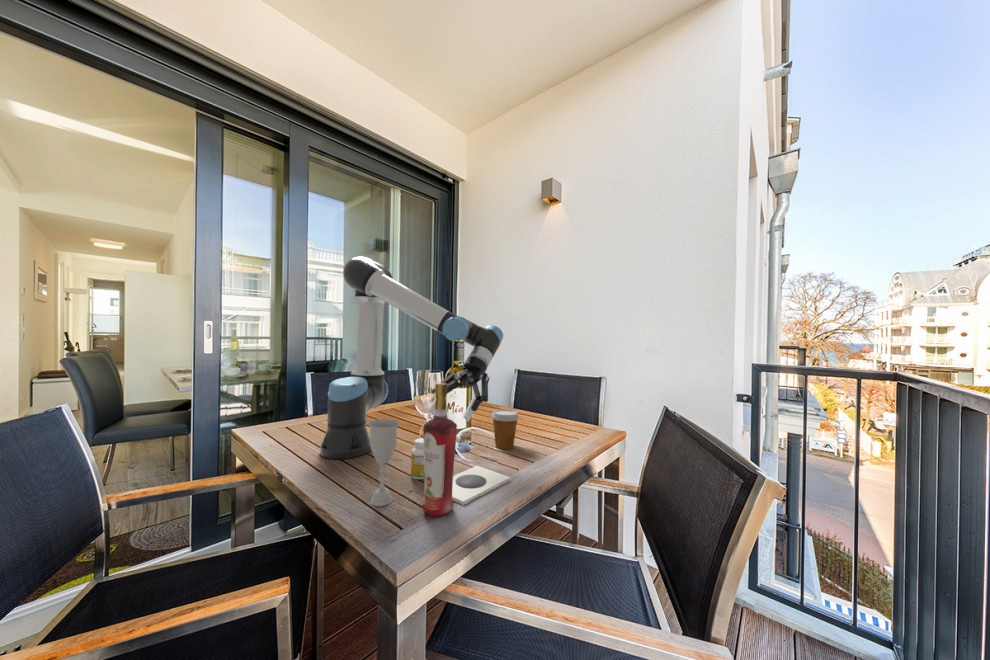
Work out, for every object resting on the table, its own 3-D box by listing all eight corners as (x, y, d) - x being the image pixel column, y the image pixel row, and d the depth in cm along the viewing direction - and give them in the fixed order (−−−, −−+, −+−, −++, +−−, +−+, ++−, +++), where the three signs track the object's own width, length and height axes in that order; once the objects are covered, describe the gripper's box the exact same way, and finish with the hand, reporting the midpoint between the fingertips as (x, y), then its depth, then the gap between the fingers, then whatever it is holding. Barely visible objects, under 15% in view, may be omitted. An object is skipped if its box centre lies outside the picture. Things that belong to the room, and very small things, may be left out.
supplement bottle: (415, 471, 97) (416, 436, 97) (433, 472, 96) (434, 438, 96) (407, 478, 91) (408, 442, 92) (426, 480, 91) (427, 444, 91)
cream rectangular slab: (477, 468, 100) (477, 465, 100) (510, 480, 92) (510, 476, 92) (428, 489, 86) (429, 485, 86) (463, 505, 78) (463, 500, 78)
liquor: (413, 512, 74) (417, 384, 75) (437, 499, 80) (440, 380, 81) (438, 524, 70) (442, 387, 70) (461, 509, 76) (464, 383, 77)
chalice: (402, 501, 79) (404, 423, 79) (374, 511, 74) (376, 428, 75) (388, 490, 84) (390, 417, 85) (360, 499, 80) (363, 421, 80)
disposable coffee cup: (515, 452, 114) (516, 416, 114) (488, 449, 116) (489, 414, 116) (519, 443, 124) (520, 410, 124) (493, 441, 126) (494, 408, 126)
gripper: (513, 372, 111) (486, 429, 98) (453, 367, 124) (423, 416, 112) (505, 357, 107) (476, 414, 94) (444, 353, 120) (411, 402, 107)
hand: (447, 415), depth 103 cm, fingers open, 13 cm apart
